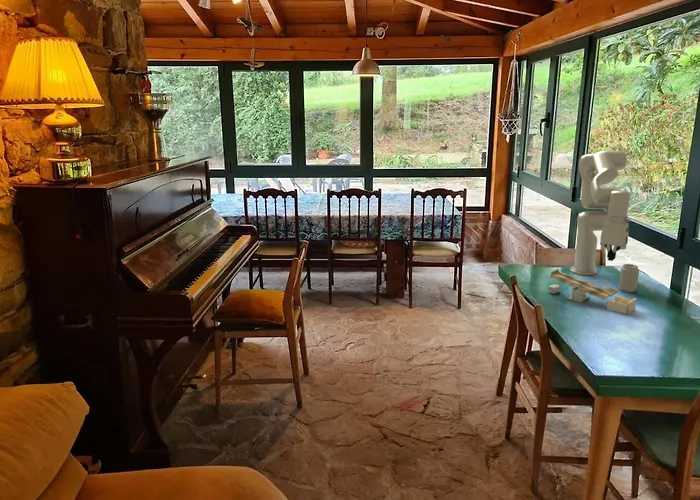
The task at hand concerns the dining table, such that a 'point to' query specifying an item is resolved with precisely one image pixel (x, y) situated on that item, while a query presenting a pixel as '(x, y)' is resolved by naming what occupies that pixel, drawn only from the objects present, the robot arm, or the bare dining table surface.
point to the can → (629, 278)
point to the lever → (584, 285)
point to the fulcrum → (576, 292)
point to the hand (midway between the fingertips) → (610, 259)
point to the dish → (622, 305)
